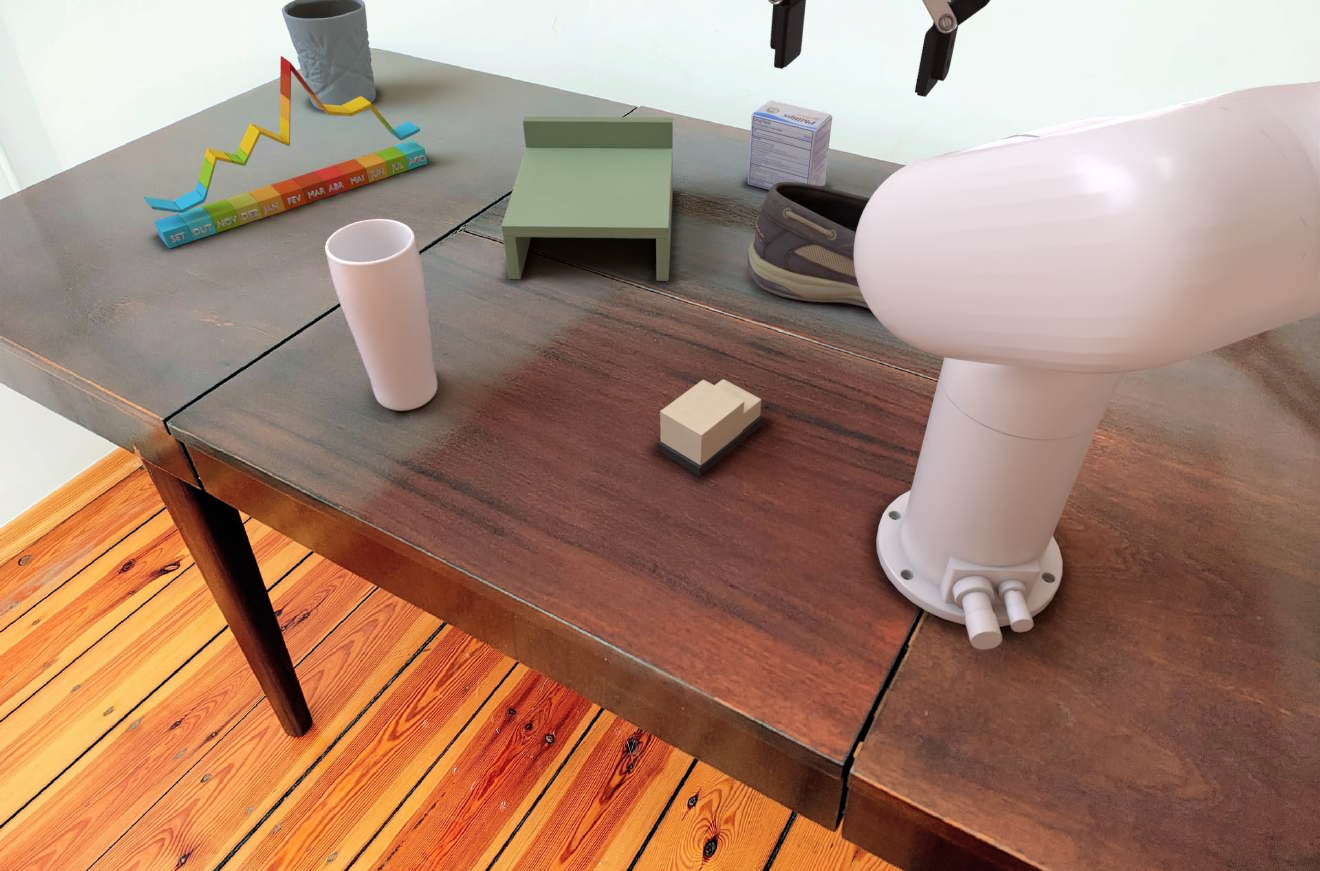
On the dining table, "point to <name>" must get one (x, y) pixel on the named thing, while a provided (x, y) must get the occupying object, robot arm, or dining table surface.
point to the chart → (288, 191)
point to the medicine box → (788, 145)
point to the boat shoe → (807, 243)
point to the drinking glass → (386, 308)
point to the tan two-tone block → (707, 424)
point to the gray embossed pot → (332, 48)
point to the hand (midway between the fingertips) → (854, 74)
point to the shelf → (592, 184)
